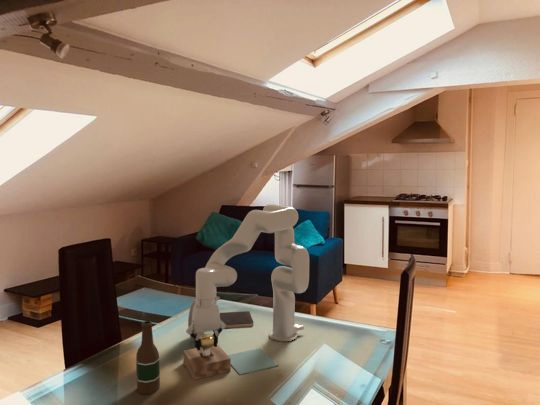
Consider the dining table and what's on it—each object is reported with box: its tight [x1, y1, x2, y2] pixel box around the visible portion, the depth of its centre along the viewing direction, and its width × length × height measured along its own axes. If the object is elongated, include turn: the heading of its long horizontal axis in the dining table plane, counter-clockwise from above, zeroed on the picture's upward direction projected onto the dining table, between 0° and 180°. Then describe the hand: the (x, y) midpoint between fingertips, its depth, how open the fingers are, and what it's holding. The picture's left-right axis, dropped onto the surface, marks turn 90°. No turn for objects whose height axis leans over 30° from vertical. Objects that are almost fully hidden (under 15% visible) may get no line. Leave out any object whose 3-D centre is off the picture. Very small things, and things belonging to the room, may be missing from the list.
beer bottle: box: [135, 320, 161, 396], centre depth 149 cm, size 8×8×24 cm
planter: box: [187, 298, 205, 344], centre depth 188 cm, size 18×7×19 cm, turn 0°
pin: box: [199, 333, 214, 358], centre depth 165 cm, size 6×6×12 cm
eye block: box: [182, 343, 232, 381], centre depth 166 cm, size 14×14×5 cm
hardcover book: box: [219, 310, 255, 329], centre depth 211 cm, size 16×23×2 cm
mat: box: [227, 347, 279, 376], centre depth 171 cm, size 16×16×1 cm
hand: (206, 346), depth 165 cm, fingers closed on pin, 6 cm apart
